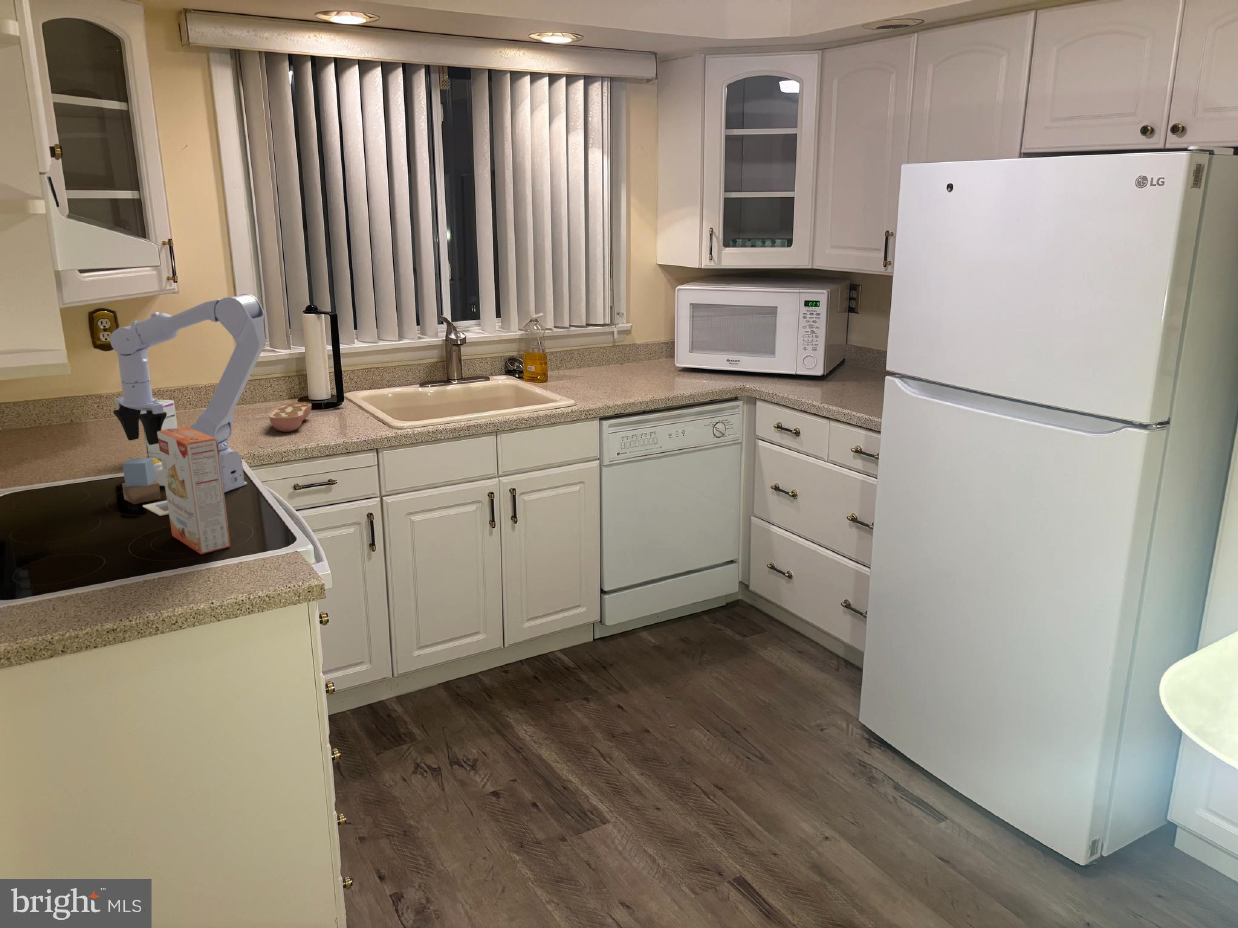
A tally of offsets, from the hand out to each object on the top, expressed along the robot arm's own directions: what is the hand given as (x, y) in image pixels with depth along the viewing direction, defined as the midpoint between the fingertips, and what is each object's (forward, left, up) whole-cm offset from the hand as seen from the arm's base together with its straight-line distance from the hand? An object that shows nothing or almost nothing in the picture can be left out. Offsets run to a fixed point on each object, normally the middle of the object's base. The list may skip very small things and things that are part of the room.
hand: (143, 441), depth 207 cm
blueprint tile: (-16, +11, -10) cm, 22 cm away
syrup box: (+18, -21, -11) cm, 29 cm away
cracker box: (-39, +25, -11) cm, 48 cm away
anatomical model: (+13, -62, -11) cm, 64 cm away
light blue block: (-6, +8, -7) cm, 12 cm away
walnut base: (-6, +8, -10) cm, 14 cm away
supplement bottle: (+4, -4, -8) cm, 10 cm away
